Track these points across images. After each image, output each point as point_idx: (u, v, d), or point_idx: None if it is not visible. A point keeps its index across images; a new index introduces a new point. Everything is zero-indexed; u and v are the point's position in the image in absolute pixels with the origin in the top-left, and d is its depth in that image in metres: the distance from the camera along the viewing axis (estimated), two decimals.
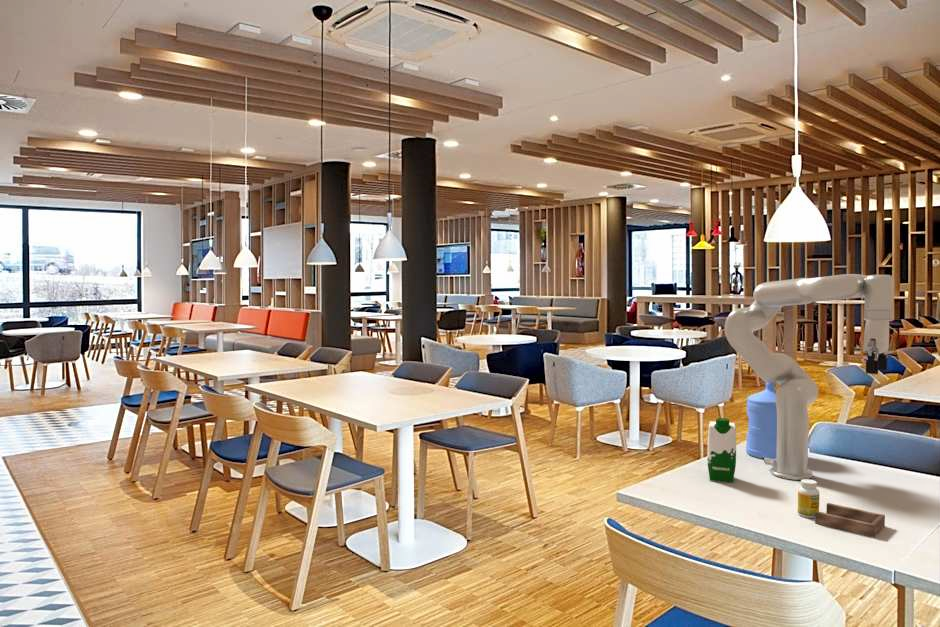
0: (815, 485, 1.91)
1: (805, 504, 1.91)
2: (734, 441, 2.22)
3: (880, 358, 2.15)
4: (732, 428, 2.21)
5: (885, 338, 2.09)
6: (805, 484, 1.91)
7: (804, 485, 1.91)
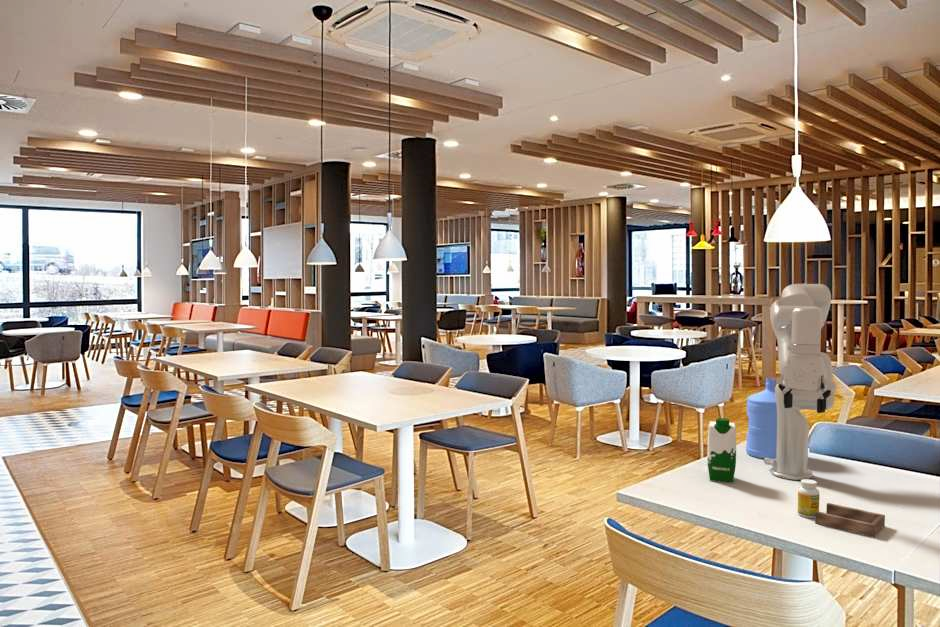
0: (815, 485, 1.91)
1: (805, 504, 1.91)
2: (734, 441, 2.22)
3: (789, 395, 2.03)
4: (732, 428, 2.21)
5: None
6: (805, 484, 1.91)
7: (804, 485, 1.91)
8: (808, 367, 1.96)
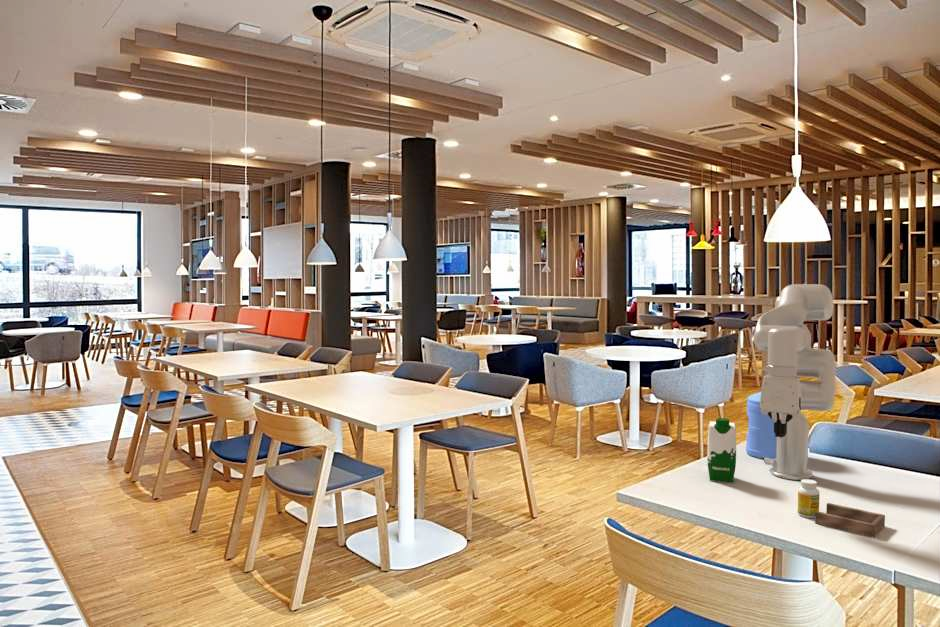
0: (815, 485, 1.91)
1: (805, 504, 1.91)
2: (734, 441, 2.22)
3: None
4: (732, 428, 2.21)
5: None
6: (805, 484, 1.91)
7: (804, 485, 1.91)
8: (786, 389, 1.93)
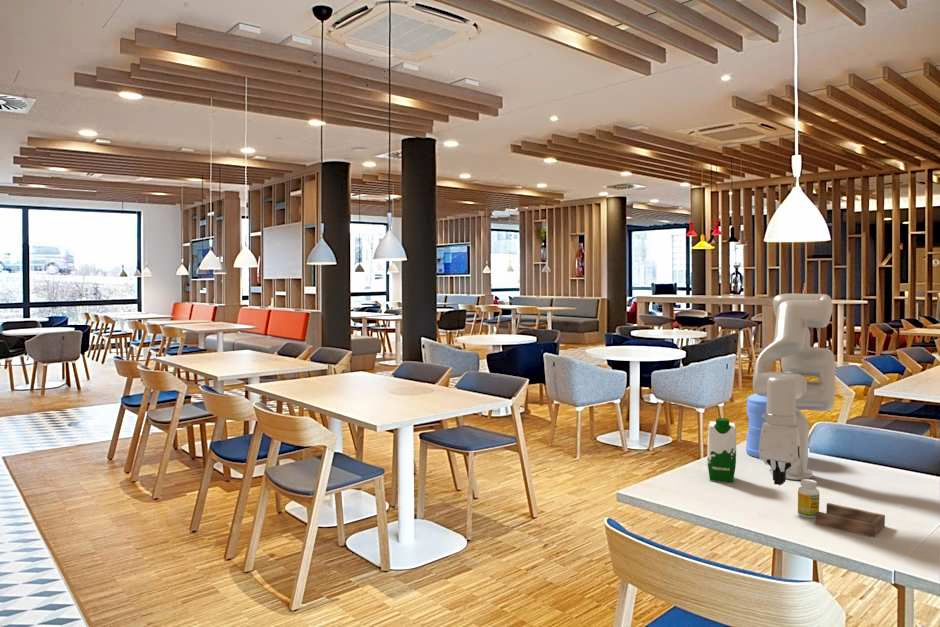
0: (815, 485, 1.91)
1: (805, 504, 1.91)
2: (734, 441, 2.22)
3: None
4: (732, 428, 2.21)
5: None
6: (805, 484, 1.91)
7: (804, 485, 1.91)
8: (785, 438, 1.94)
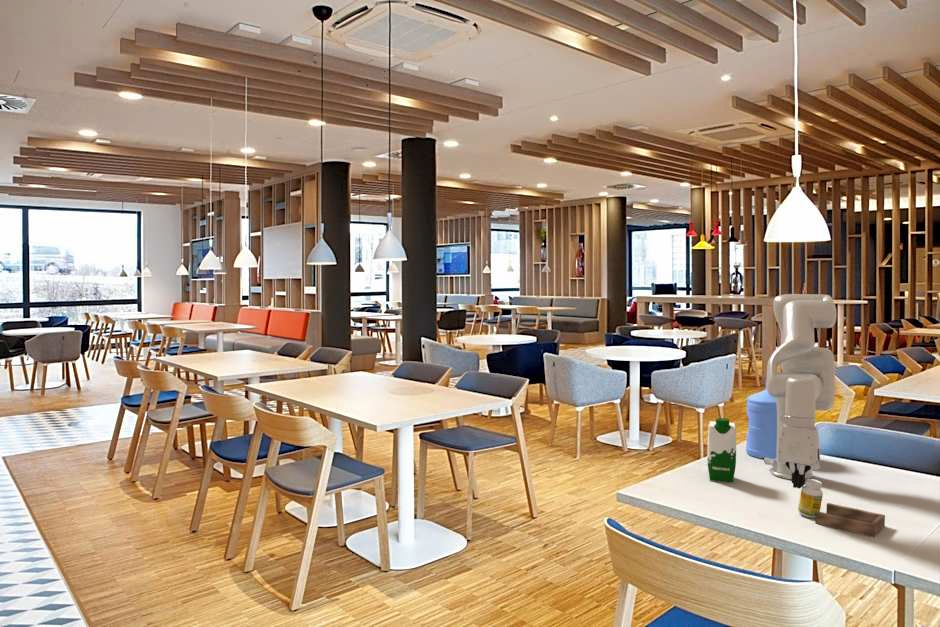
0: (820, 486, 1.90)
1: (807, 504, 1.90)
2: (734, 441, 2.22)
3: (797, 474, 1.94)
4: (732, 428, 2.21)
5: None
6: (809, 484, 1.90)
7: (809, 485, 1.90)
8: (805, 440, 1.90)
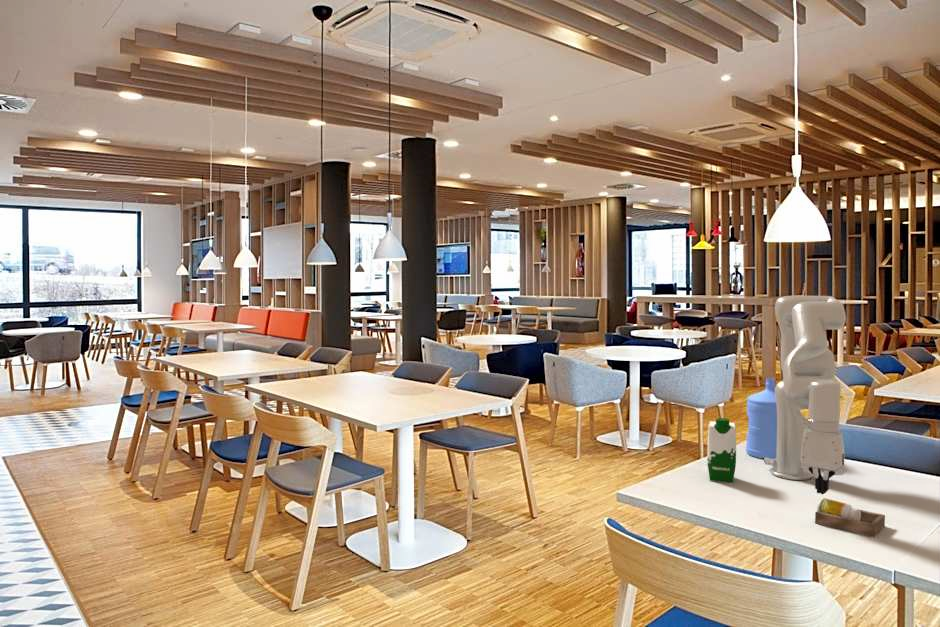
0: None
1: (830, 507, 1.88)
2: (734, 441, 2.22)
3: None
4: (732, 428, 2.21)
5: None
6: (853, 512, 1.84)
7: (852, 511, 1.84)
8: (829, 445, 1.86)
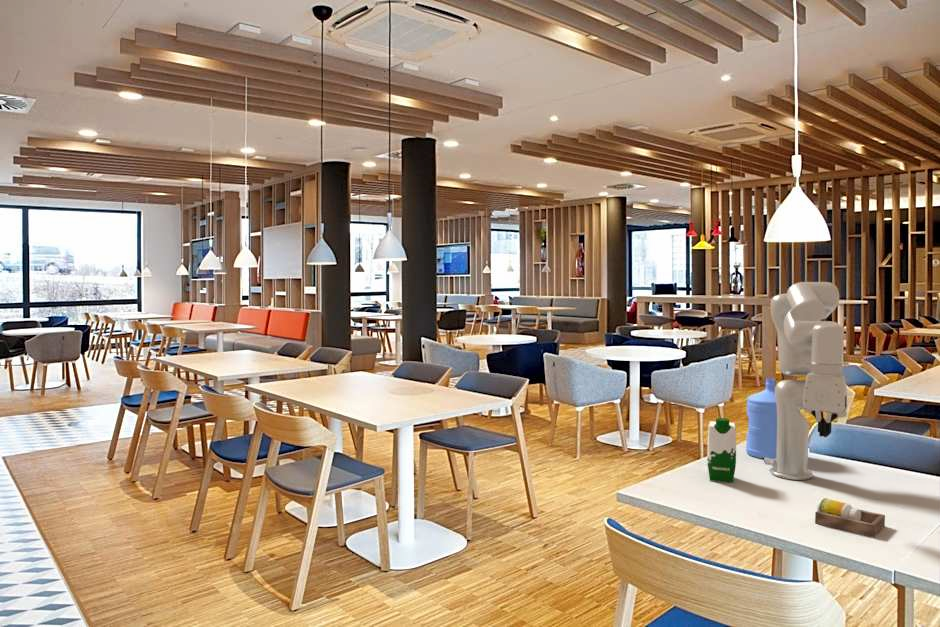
0: None
1: (830, 507, 1.88)
2: (734, 441, 2.22)
3: None
4: (732, 428, 2.21)
5: None
6: (853, 512, 1.84)
7: (852, 511, 1.84)
8: (832, 388, 1.86)
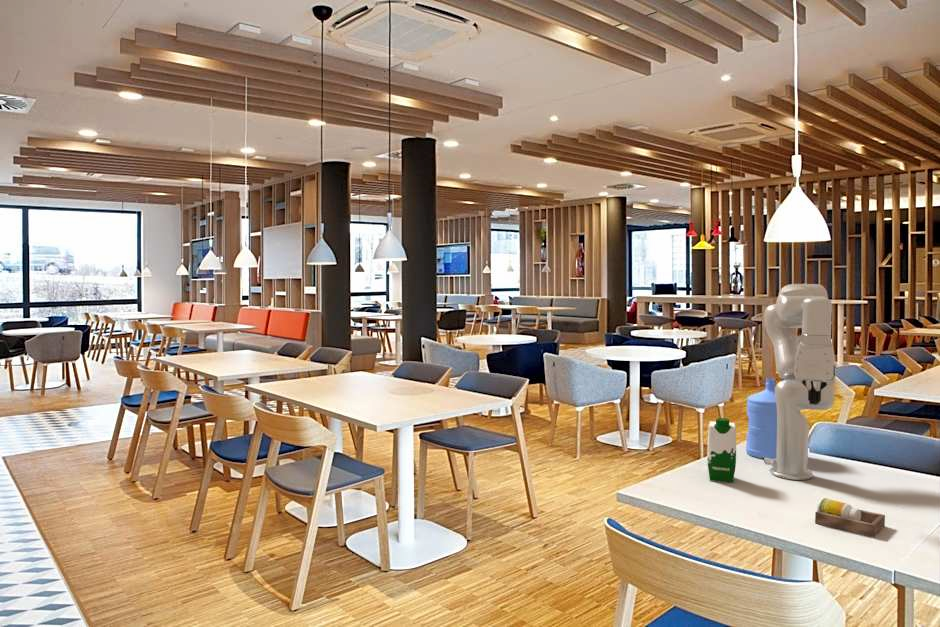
0: None
1: (830, 507, 1.88)
2: (734, 441, 2.22)
3: (813, 391, 2.02)
4: (732, 428, 2.21)
5: None
6: (853, 512, 1.84)
7: (852, 511, 1.84)
8: (821, 357, 1.97)
